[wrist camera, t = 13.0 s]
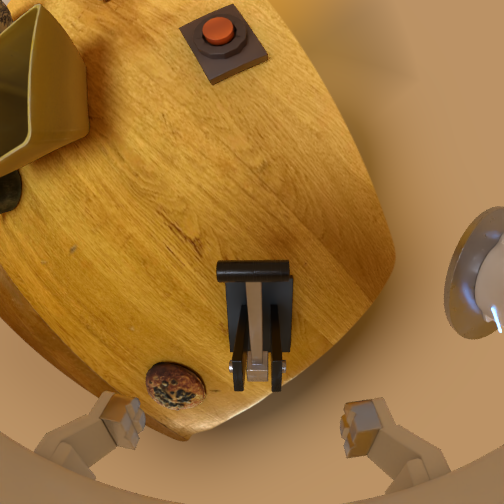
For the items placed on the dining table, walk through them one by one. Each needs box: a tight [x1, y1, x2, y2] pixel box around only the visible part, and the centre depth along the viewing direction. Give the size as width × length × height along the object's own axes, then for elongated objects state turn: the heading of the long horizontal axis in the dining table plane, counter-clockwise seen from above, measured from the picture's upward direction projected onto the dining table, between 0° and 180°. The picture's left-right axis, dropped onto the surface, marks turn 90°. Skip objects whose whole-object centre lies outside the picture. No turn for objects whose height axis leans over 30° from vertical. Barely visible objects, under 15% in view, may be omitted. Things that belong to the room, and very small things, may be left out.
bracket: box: [225, 275, 293, 392], centre depth 34 cm, size 12×9×14 cm
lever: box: [216, 260, 290, 381], centre depth 25 cm, size 16×5×2 cm, turn 1°
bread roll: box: [146, 362, 206, 410], centre depth 43 cm, size 11×11×5 cm
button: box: [202, 17, 234, 45], centre depth 26 cm, size 4×4×2 cm
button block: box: [179, 4, 268, 85], centre depth 28 cm, size 10×8×4 cm
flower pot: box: [0, 4, 90, 177], centre depth 25 cm, size 19×19×17 cm
